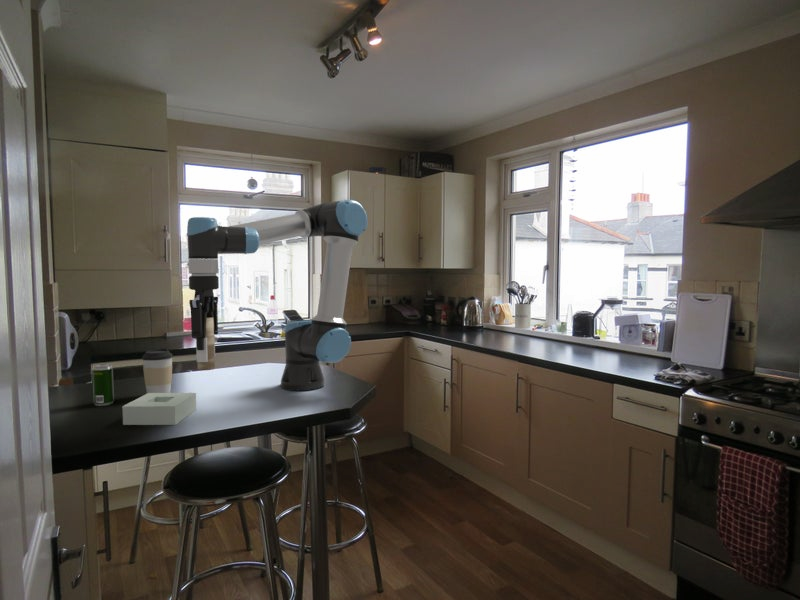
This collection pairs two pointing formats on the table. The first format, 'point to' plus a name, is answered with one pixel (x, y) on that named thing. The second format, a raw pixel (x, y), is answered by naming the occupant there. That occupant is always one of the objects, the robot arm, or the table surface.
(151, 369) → the coffee cup
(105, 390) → the beer can
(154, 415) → the bore block
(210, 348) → the beech pin
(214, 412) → the table surface
